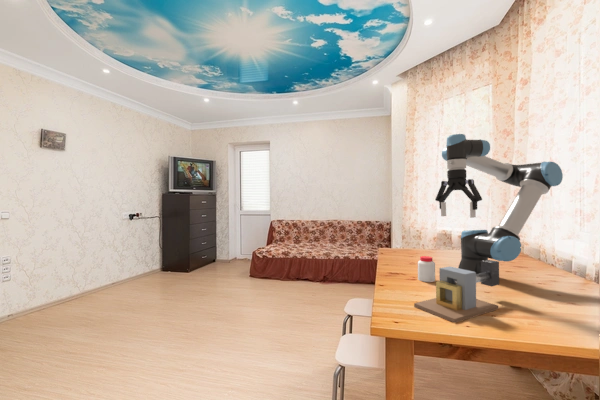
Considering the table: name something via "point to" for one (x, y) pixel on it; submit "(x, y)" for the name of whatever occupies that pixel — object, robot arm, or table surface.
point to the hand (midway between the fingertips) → (457, 216)
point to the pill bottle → (426, 269)
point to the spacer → (455, 295)
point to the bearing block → (469, 301)
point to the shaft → (487, 273)
